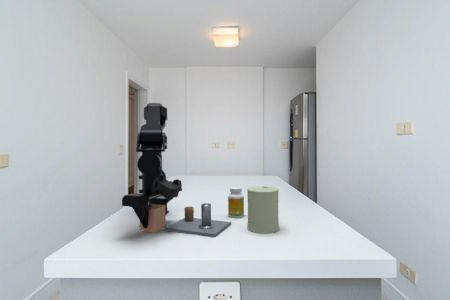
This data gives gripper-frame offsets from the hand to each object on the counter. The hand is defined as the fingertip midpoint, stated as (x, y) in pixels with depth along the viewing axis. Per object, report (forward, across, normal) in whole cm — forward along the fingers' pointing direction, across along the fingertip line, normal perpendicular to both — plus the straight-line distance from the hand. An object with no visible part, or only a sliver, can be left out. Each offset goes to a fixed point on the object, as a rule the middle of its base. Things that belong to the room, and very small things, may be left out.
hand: (152, 224), depth 77 cm
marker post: (+1, +5, -15) cm, 16 cm away
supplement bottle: (+2, +22, -18) cm, 28 cm away
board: (+1, +6, -12) cm, 13 cm away
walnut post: (+1, +9, -7) cm, 11 cm away
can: (+2, +12, -30) cm, 32 cm away
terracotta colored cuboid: (+1, 0, 0) cm, 1 cm away
